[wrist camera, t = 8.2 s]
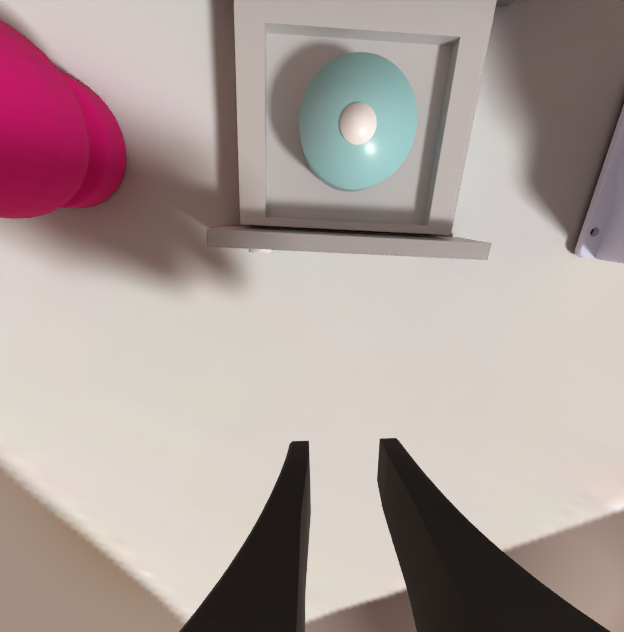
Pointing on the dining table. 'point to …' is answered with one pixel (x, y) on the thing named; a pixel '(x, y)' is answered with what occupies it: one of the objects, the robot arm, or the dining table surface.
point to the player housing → (503, 2)
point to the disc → (357, 121)
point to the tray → (284, 135)
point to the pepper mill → (52, 135)
